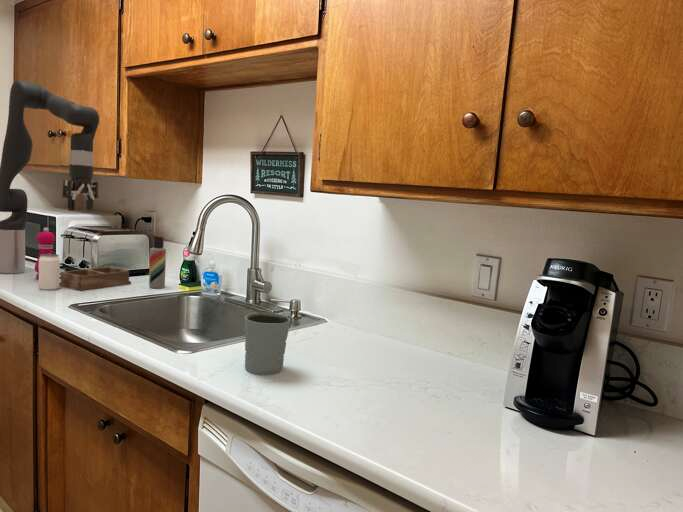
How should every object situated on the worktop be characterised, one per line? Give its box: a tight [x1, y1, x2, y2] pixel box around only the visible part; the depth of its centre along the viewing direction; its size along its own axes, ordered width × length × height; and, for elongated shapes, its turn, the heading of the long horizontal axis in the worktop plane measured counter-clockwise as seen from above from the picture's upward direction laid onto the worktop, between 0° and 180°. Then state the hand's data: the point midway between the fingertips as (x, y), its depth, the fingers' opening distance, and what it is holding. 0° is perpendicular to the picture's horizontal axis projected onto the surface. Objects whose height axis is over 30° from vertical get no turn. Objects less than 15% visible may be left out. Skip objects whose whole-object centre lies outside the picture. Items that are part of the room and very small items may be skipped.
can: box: [38, 253, 61, 291], centre depth 181 cm, size 6×6×12 cm
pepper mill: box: [34, 227, 56, 281], centre depth 195 cm, size 7×7×20 cm
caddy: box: [60, 266, 132, 292], centre depth 193 cm, size 13×21×5 cm, turn 151°
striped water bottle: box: [148, 235, 167, 290], centre depth 196 cm, size 6×6×20 cm
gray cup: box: [244, 312, 291, 376], centre depth 117 cm, size 10×10×12 cm
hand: (80, 210), depth 182 cm, fingers open, 8 cm apart
